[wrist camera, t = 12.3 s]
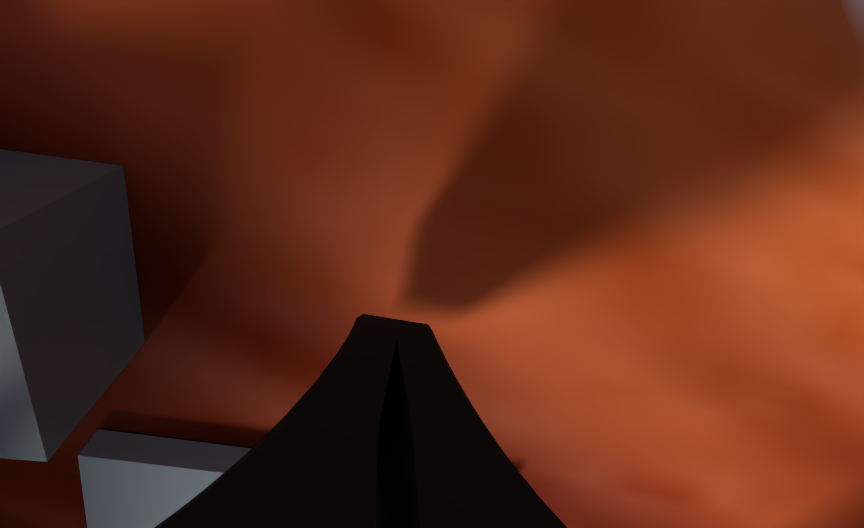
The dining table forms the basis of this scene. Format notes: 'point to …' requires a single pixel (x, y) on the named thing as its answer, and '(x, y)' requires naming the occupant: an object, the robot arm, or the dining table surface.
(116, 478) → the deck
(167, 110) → the dining table surface
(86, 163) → the plug
